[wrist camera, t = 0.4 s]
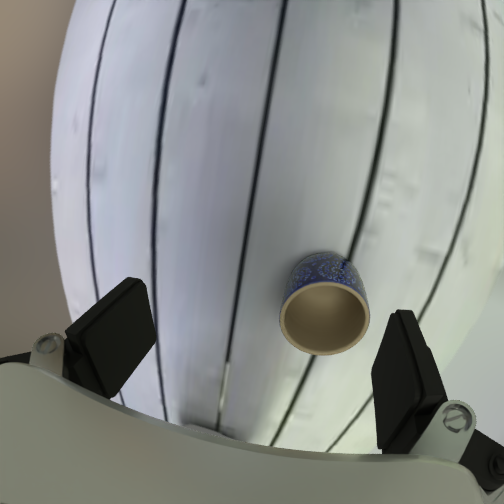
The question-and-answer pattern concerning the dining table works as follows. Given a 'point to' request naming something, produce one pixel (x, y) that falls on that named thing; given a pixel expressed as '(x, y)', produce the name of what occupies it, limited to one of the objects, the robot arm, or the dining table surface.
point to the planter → (324, 306)
